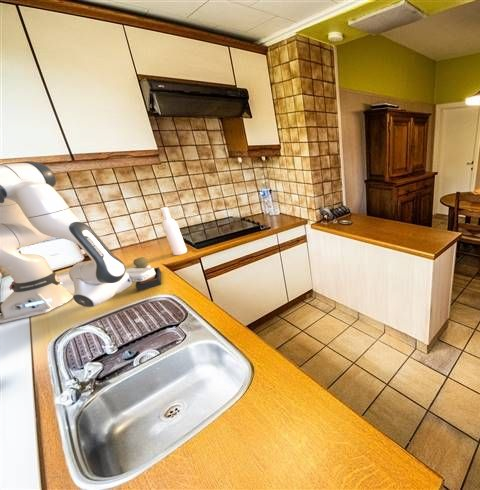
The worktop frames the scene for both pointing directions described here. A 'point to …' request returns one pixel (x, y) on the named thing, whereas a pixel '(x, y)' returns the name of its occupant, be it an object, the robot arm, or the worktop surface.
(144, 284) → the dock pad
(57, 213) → the robot arm
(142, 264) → the cork
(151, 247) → the worktop surface
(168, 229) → the bottle
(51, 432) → the worktop surface
